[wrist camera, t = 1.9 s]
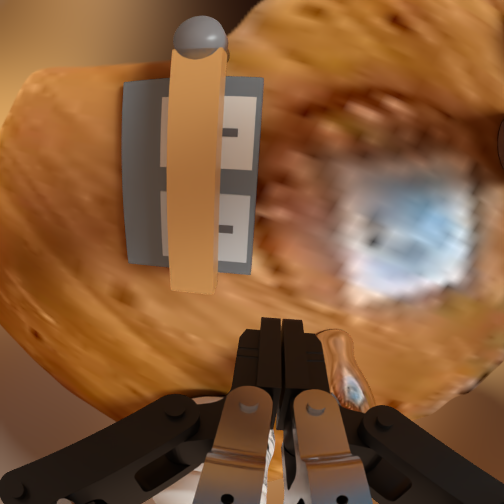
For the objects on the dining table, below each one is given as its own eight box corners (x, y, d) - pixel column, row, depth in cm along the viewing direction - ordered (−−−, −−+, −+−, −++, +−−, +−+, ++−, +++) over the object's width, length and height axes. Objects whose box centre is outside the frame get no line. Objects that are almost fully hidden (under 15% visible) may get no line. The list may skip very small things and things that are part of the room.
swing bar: (184, 26, 20) (175, 17, 18) (229, 24, 20) (225, 14, 18) (178, 277, 30) (170, 290, 27) (217, 281, 30) (213, 295, 27)
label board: (263, 80, 26) (263, 77, 24) (251, 268, 34) (250, 276, 32) (130, 83, 26) (122, 81, 25) (133, 257, 34) (127, 264, 33)
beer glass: (362, 326, 36) (394, 419, 22) (349, 365, 39) (369, 455, 25) (309, 324, 36) (322, 424, 22) (300, 364, 39) (306, 459, 25)
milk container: (154, 410, 46) (125, 495, 30) (214, 369, 40) (189, 481, 24) (229, 451, 50) (218, 529, 33) (297, 419, 44) (299, 515, 28)
